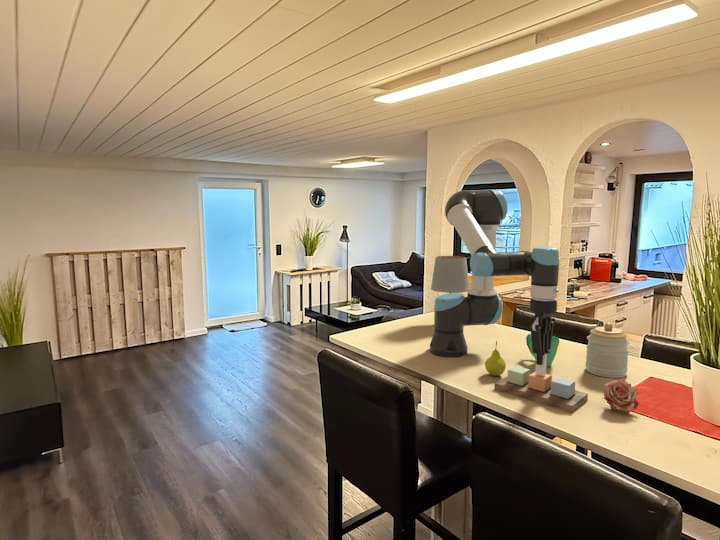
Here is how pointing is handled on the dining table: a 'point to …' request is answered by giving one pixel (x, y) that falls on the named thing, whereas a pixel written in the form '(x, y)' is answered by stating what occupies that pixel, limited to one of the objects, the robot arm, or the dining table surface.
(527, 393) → the button board
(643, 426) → the dining table surface
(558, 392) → the button slate
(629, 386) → the flower
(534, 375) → the button terracotta
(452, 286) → the lamp
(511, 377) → the button sage
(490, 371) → the fruit
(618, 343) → the jar
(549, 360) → the mug
